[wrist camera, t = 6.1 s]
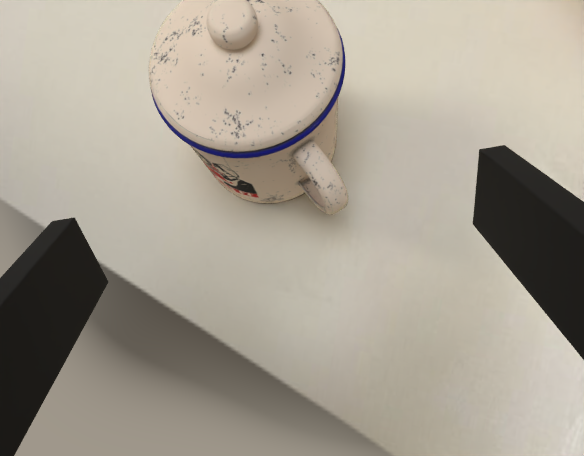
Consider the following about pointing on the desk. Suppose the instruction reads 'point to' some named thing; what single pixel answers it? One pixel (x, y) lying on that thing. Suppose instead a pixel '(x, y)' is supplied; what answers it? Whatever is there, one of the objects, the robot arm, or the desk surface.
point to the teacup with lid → (255, 94)
